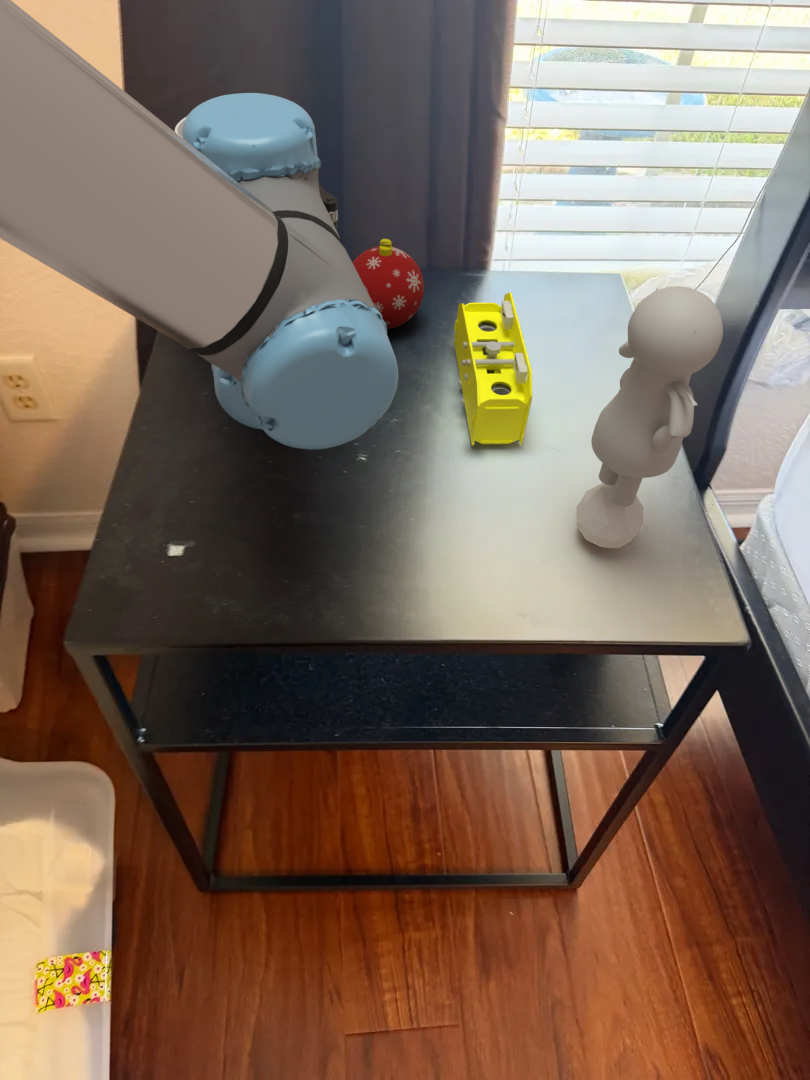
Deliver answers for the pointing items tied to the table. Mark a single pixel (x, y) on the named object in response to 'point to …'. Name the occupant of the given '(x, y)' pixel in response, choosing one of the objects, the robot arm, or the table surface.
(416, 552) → the table surface
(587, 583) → the table surface
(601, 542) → the toy character
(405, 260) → the christmas ornament
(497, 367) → the yellow toy chassis
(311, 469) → the table surface
